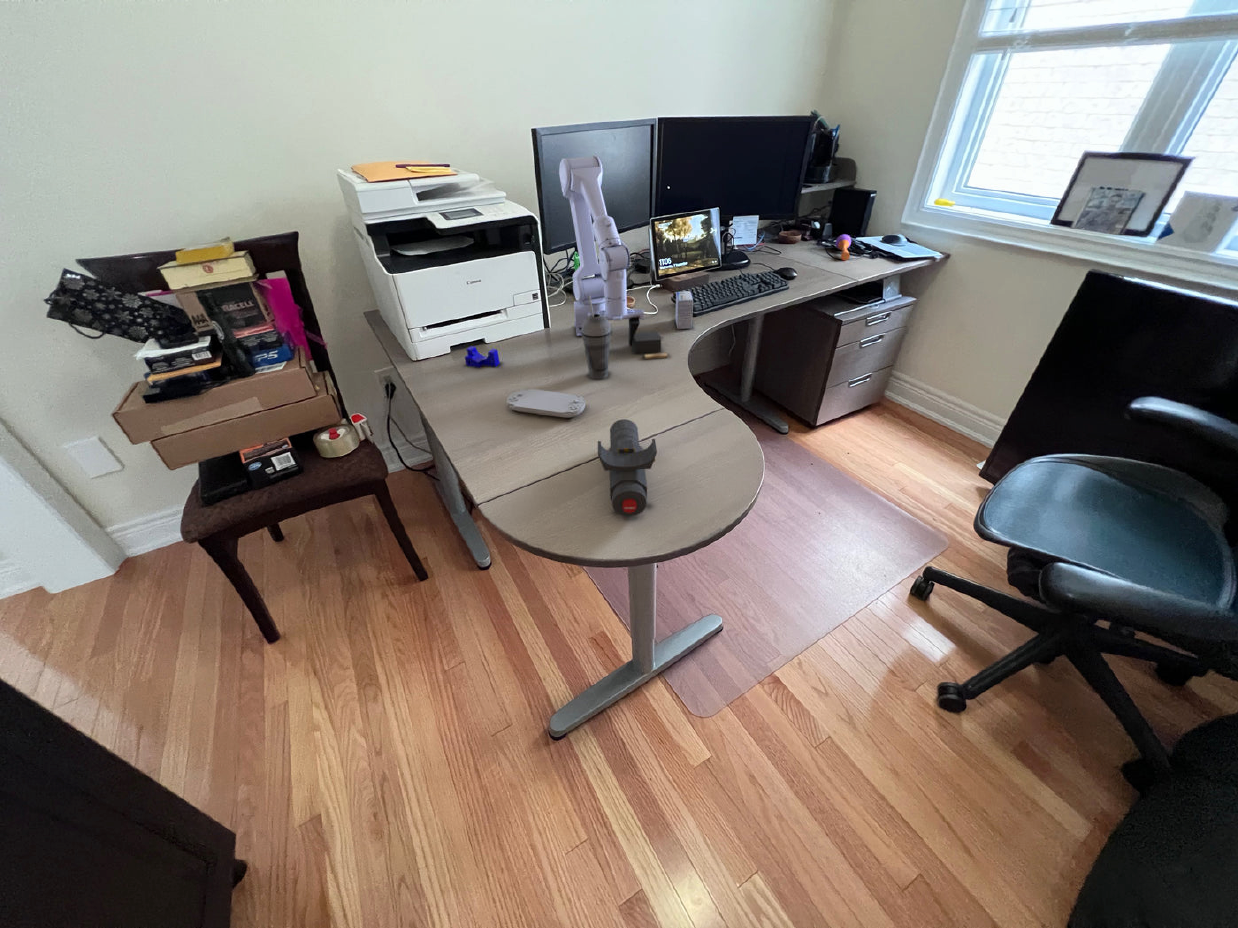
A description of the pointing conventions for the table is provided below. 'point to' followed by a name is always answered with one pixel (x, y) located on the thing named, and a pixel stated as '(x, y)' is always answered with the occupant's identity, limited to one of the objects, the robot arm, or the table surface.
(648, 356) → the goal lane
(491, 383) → the table surface
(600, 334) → the beverage cup
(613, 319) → the robot arm
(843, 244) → the kendama
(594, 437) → the table surface
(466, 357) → the cable holder
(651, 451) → the laser sight
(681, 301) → the medicine box
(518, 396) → the game console
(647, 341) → the black block
